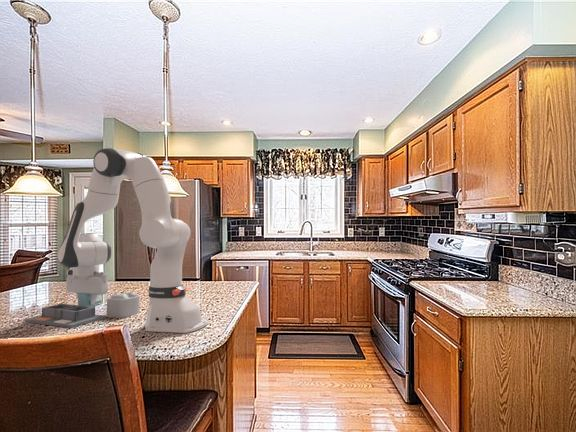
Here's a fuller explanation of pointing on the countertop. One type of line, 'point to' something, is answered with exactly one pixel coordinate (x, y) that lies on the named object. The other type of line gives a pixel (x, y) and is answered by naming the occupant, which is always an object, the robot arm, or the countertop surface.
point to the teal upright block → (84, 299)
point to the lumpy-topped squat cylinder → (123, 304)
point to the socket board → (66, 316)
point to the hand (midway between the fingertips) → (86, 303)
